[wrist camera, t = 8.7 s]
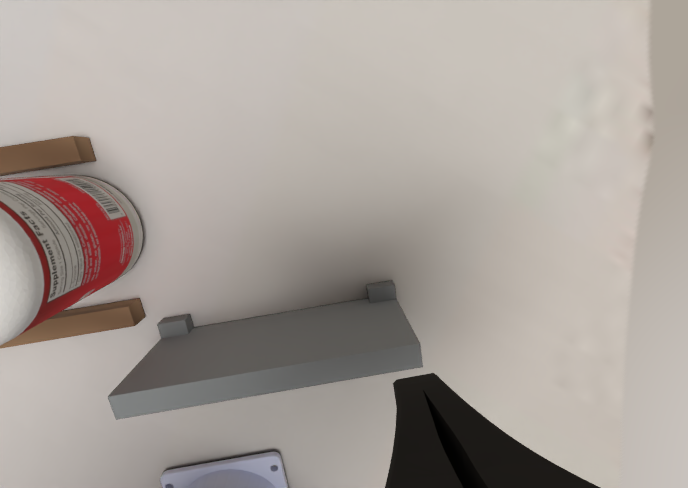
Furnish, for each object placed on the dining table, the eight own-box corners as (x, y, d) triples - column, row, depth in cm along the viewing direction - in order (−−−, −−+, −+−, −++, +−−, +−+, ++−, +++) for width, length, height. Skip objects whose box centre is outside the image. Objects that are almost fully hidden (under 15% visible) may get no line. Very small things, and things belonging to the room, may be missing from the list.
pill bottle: (38, 278, 20) (-295, 414, 9) (25, 170, 19) (-386, 180, 8) (150, 284, 20) (-43, 421, 10) (145, 179, 19) (-86, 200, 8)
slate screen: (397, 324, 22) (424, 384, 16) (176, 362, 22) (122, 436, 16) (392, 280, 21) (418, 325, 15) (163, 318, 21) (100, 379, 15)
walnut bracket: (145, 316, 21) (134, 325, 20) (-10, 342, 21) (-30, 353, 19) (88, 137, 18) (72, 136, 17) (-87, 165, 18) (-115, 165, 17)
